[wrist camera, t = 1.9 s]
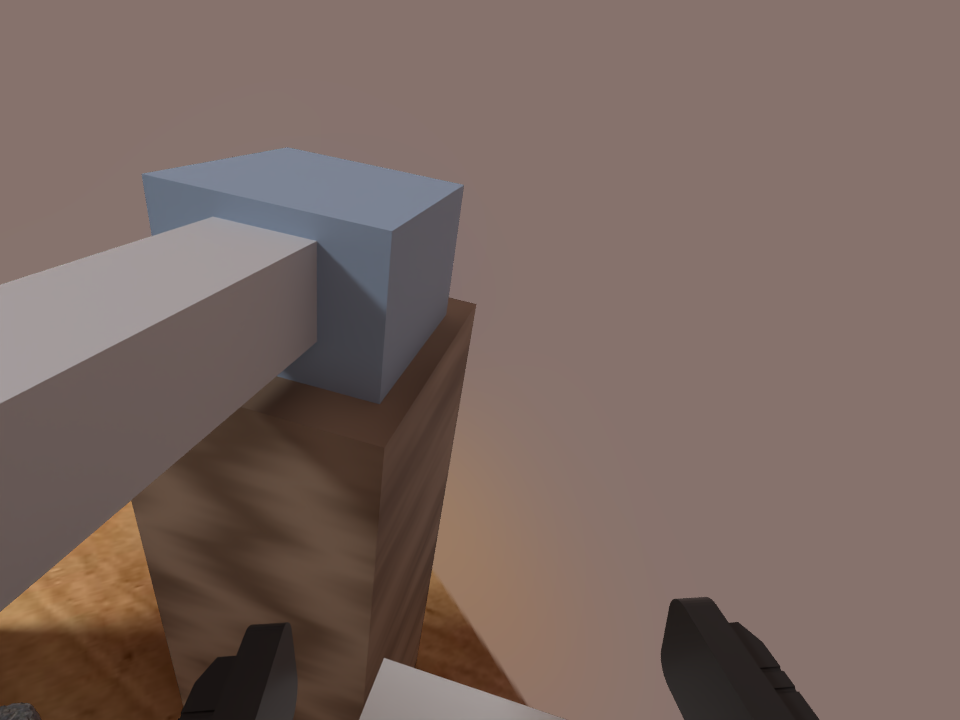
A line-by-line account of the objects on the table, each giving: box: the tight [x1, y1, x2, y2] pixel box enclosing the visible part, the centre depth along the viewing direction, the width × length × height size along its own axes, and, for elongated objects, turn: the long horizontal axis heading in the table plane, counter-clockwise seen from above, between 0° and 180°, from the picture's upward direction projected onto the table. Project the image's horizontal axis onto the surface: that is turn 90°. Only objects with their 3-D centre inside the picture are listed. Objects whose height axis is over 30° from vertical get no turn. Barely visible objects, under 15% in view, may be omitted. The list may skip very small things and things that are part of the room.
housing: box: [0, 147, 464, 612], centre depth 15 cm, size 8×20×6 cm, turn 166°
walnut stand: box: [131, 298, 476, 720], centre depth 29 cm, size 10×12×32 cm
